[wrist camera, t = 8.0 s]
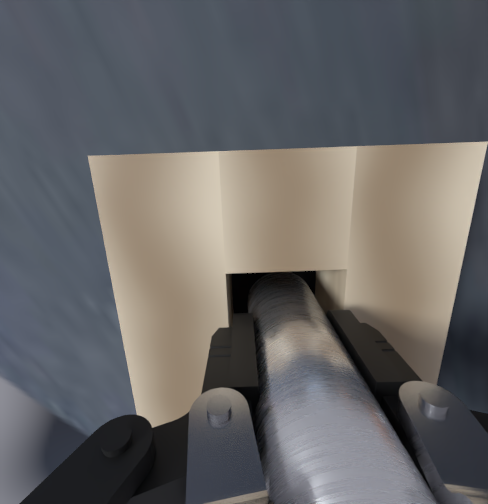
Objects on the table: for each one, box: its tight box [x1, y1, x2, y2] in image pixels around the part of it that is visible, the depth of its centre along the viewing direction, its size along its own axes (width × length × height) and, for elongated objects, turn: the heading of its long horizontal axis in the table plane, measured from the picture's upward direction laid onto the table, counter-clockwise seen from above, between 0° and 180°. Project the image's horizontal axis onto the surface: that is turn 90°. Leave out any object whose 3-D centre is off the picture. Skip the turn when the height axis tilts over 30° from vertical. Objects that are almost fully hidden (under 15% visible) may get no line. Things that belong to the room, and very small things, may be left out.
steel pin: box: [248, 272, 438, 504], centre depth 8 cm, size 3×3×10 cm
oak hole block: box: [88, 142, 488, 428], centre depth 12 cm, size 13×13×4 cm
